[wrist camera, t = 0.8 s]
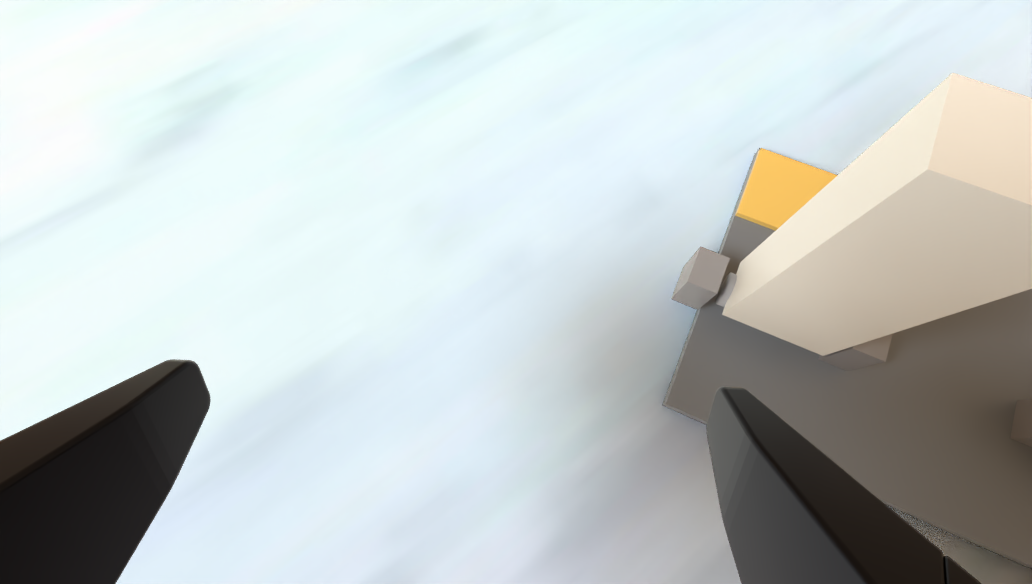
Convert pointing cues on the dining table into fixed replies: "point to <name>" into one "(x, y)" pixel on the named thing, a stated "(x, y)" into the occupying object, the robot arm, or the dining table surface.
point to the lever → (902, 228)
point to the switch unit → (877, 384)
